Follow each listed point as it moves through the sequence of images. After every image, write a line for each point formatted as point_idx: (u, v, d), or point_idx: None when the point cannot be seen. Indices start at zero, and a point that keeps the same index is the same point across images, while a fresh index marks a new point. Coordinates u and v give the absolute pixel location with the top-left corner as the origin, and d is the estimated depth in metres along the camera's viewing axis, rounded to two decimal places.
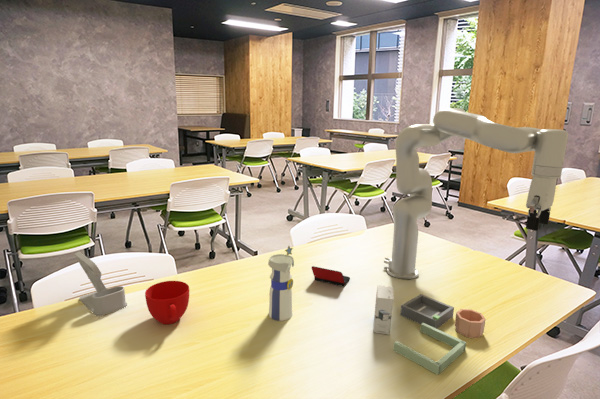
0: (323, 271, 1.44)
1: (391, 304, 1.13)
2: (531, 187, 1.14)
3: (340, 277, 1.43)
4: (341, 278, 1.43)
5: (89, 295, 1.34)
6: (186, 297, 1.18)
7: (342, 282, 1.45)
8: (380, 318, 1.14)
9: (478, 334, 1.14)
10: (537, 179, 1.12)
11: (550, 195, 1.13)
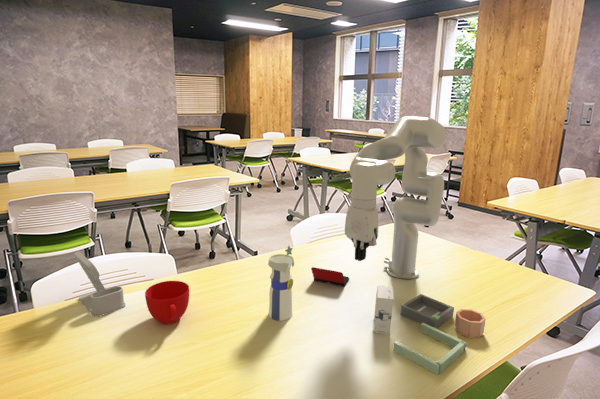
0: (323, 272, 1.44)
1: (391, 304, 1.13)
2: (371, 222, 1.14)
3: (340, 277, 1.42)
4: (341, 278, 1.43)
5: (89, 295, 1.34)
6: (186, 297, 1.18)
7: (342, 282, 1.44)
8: (380, 318, 1.14)
9: (478, 334, 1.14)
10: (373, 212, 1.14)
11: None
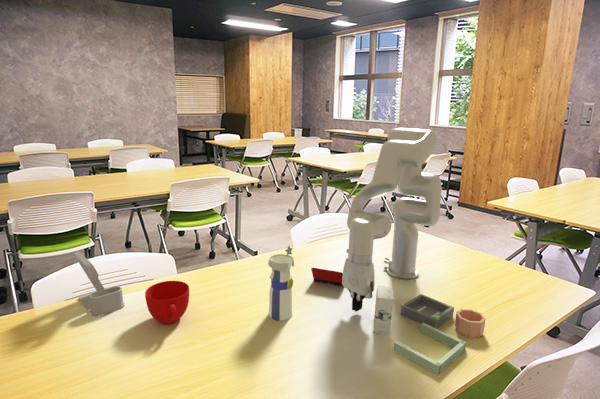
0: (323, 272, 1.43)
1: (391, 304, 1.13)
2: (367, 276, 1.18)
3: (341, 278, 1.42)
4: None
5: (88, 295, 1.34)
6: (186, 297, 1.18)
7: None
8: (380, 318, 1.14)
9: (478, 334, 1.14)
10: (369, 267, 1.18)
11: None
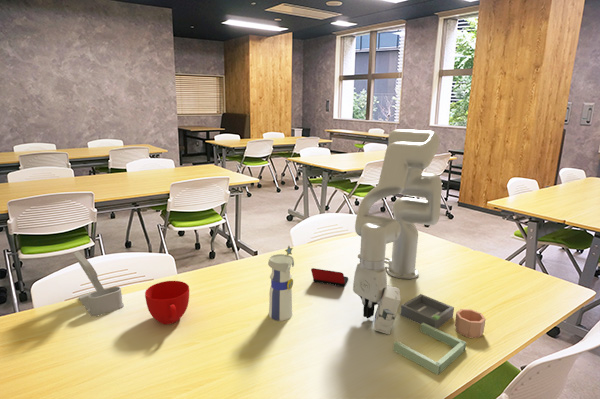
0: (323, 272, 1.43)
1: (397, 305, 1.12)
2: (379, 283, 1.15)
3: (341, 278, 1.42)
4: (342, 279, 1.42)
5: (88, 295, 1.34)
6: (186, 297, 1.18)
7: (342, 283, 1.44)
8: (384, 317, 1.14)
9: (478, 334, 1.14)
10: (382, 273, 1.15)
11: None
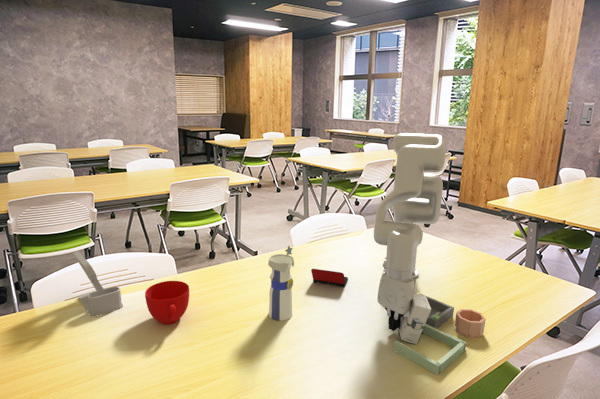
0: (323, 273, 1.43)
1: (427, 314, 1.08)
2: (407, 294, 1.08)
3: (341, 278, 1.42)
4: (342, 279, 1.42)
5: (88, 294, 1.34)
6: (186, 297, 1.18)
7: (342, 283, 1.44)
8: (413, 326, 1.09)
9: (478, 334, 1.14)
10: (410, 284, 1.08)
11: None
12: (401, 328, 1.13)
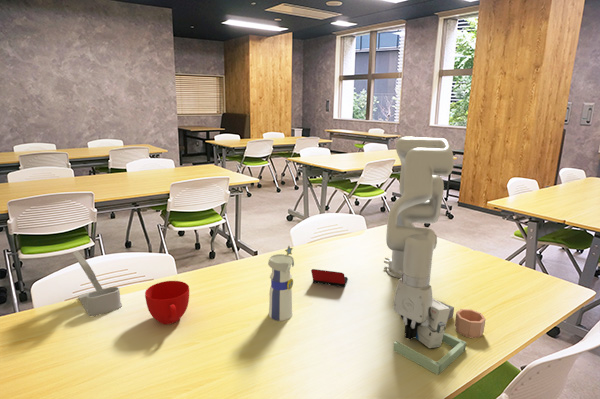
0: (323, 273, 1.42)
1: (448, 314, 1.08)
2: (425, 302, 1.04)
3: (341, 278, 1.42)
4: (342, 279, 1.42)
5: (88, 294, 1.34)
6: (186, 297, 1.18)
7: (343, 283, 1.44)
8: (438, 331, 1.07)
9: (478, 334, 1.14)
10: (428, 291, 1.04)
11: None
12: (422, 336, 1.10)
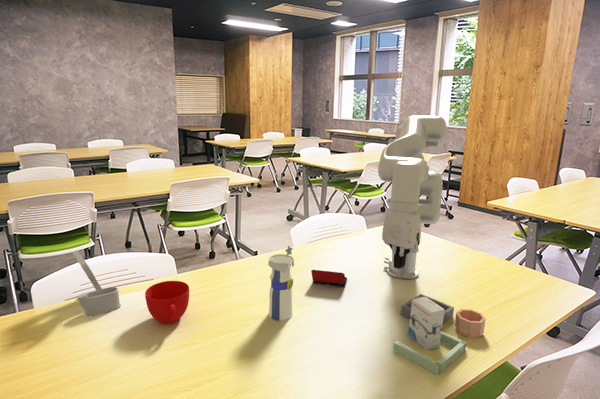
0: (324, 273, 1.42)
1: (443, 315, 1.07)
2: (413, 227, 1.04)
3: (342, 278, 1.42)
4: (342, 279, 1.42)
5: None
6: (186, 297, 1.18)
7: (343, 283, 1.44)
8: (434, 332, 1.07)
9: (478, 334, 1.14)
10: (416, 216, 1.04)
11: None
12: (419, 338, 1.10)
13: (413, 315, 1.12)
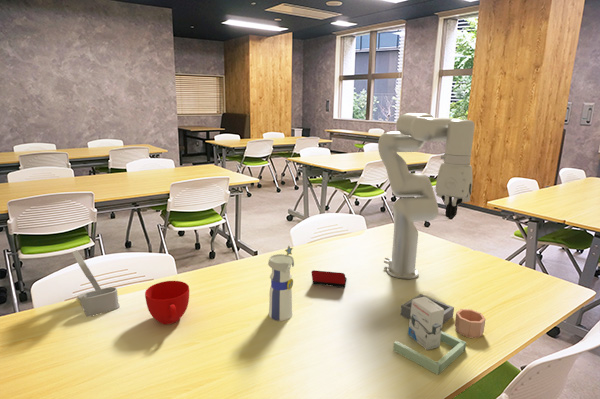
0: (324, 274, 1.42)
1: (443, 315, 1.07)
2: (467, 177, 1.16)
3: (342, 278, 1.42)
4: (343, 279, 1.42)
5: None
6: (186, 297, 1.18)
7: (343, 283, 1.44)
8: (434, 332, 1.07)
9: (478, 334, 1.14)
10: (469, 168, 1.16)
11: None
12: (419, 338, 1.10)
13: (413, 315, 1.12)
